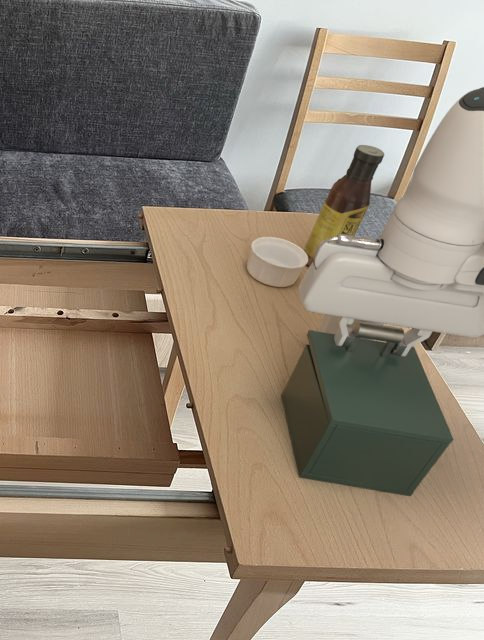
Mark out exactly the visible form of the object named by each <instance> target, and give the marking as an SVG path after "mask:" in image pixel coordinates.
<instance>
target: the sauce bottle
mask: <svg viewBox="0 0 484 640" xmlns="http://www.w3.org/2000/svg"><path fill="white" fill-rule="evenodd" d="M384 157H385V152H384V151H383V150H381V148H379V147H376V146H373V145H367V144H359V145H357V147H356V148H355V151H354V153H353V158H352V160H351V162H350V165H349V167H348V168H347V170H346V173H345V174H344V175H343V176H342V177H341V178H338V179H337V180H336V181H335V182H334V183H333V185H332V186H331V188H330V189H329V192H328V195H327V197H326V199H325V200H324V202H323V204H322V207H321V209H320V211H319V213H318V216H317V218H316V221H315V223H314V225H313V228H312V230H311V232H310V234H309V235H308V236H309V237H308V238H307V240H306V244H305V246H304V249H303V250H304V251H305V252H306V254H307V256H308V263H307V264H306V265H307V266H308V267H310V265H311V264H312V262H313V257H314V255H315V252H316V250H317V248H318V246H319V244H320V243H321V242H322V241H324V240H326V239H328V238H331V237H337V235H338V234H347V235H351V236H354V237H356V233H357V231H358V230H359V227H360V225H361V223H362V221H363V219H364V217H365V215H366V213H367V211H368V209H369V206H370V204H371V191H372V181H373V179H374V176H375V174H376V171H377V169H378V167H379V165H380V164H381V163H382V162H383V160H384ZM333 242H336V241H333Z"/></svg>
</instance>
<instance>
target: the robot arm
mask: <svg viewBox="0 0 484 640" xmlns="http://www.w3.org/2000/svg"><path fill="white" fill-rule="evenodd" d="M411 178H412V179H411V183H410V185H409V188H408V189H407V191H406V192H405V194H404V195H402V197H401V198H400V199H399V200H398V201H397V202H396V204H395V206H394V208H393V210H392V211H391V213H390V216H389V218H388V219H387V222H386V224H385V226H384V228H383V230H382V232H381V234H380V235H379V238H373V237H365V236H351V235H347V234H338V235H337V237H331V238H328V239H326V240H324V241H322V242H321V243H320V244H319V246H318V248H317V250H316V252H315V255H314V257H313V262H312V264H311V265H310V266H308V269H307V270H306V272H305V274H304V275H303V277H302V279H301V281H300V283H299V285H298V288H297V292H298V297H299V300H300V302H301V304H302V306H303V308H304V309H305V311H307V312H309V313H314V314H315V313H316V314H321V315H324V314H327V315H333V316H336V317H337V322H338V326H339V328H338V330H337V332H336V334H335V336H334V341H335V344H336V346H342V347H351V343H352V342H353V341H354V339H355V336H354V334H353V330H352V328H348V327H347V325H346V324H349V325H351V324H352V323H353V322H354V320H355V319H358V320H365V321H371V322H377V323H383V325H389V326H395V327H401V328H409V330H408V331H406V332H404V337H403V340H402V342H401V343H399V344H397V343H396V344H395V345H394V347H393V348H392V350H391V352H390V353H391V354H393V355H398V356H404V357H405V356H406V355H407V353H408V352H409V350H410V348H411V347H415V346H417V345H418V344H420V343H422V342H424V341H425V340H428V339H429V338H430V337H431V335H432V334H433V332H435V333H441V334H447V335H453V336H459V337H464V338H465V337H466V338H471V339H476V338H478V337H481V336H483V335H484V86H482V87H479V88H476V89H473V90H471V91H468V92H466V93H465V94H464V95H462V96H461V97H460V98H459V99H457V100H456V101H455V102H454V104H453V105H452V106H451V107H450V108H449V110H448V111H447V112H446V113H445V115H444V116H443V117H442V119H441V121H440V122H439V123H438V125H437V127H436V129H435V130H434V132H433V134H432V135H431V137H430V138H429V140H428V142H427V144H426V145H425V147H424V149H423V151H422V153H421V155H420V157H419V159H418V160H417V163H416V164H415V167H414V169H413V172H412V177H411ZM333 241H336V242H333Z"/></svg>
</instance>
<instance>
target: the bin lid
mask: <svg viewBox="0 0 484 640" xmlns="http://www.w3.org/2000/svg"><path fill="white" fill-rule="evenodd" d="M353 334H354V336H355V339H354V341H353V342H352V343H351V347H342V346H336V344H335V341H334V336H335V334H330V333H324V332H318V330H312V329H311V330H310V329H309V330H308V331H307V333H306V338H307V341H308V345H309V346H310V350H311V354H312V358H313V362H314V365H315V369H316V373H317V377H318V381H319V385H320V389H321V393H322V396H323V400H324V404H325V408H326V412H327V416H328V420H329V424H332V425H338V426H344V427H350V428H356V429H362V430H368V431H374V432H380V433H387V434H393V435H399V436H405V437H411V438H417V439H423V440H429V441H435V442H441V443H447V444H449V445H451V443H453V441H454V436H453V435H452V432H451V430H450V428H449V425H448V423H447V420H446V418H445V416H444V413H443V411H442V408H441V406H440V404H439V401H438V399H437V397H436V394H435V392H434V390H433V388H432V385H431V383H430V381H429V378H428V376H427V374H426V371H425V369H424V367H423V364H422V362H421V360H420V357H419V354H418V353H417V350H416V347H415V346H413V347H411V348H410V350H409V352H408V353H407V355H406V356H405V357H404V356H398V355H393V354H391V353H390V352H391V350H392V348H393V347H394V345H395V344H396V343H397V344H399V343H401V342H402V340H403V337H404V334H405V331H404V329H403V327H398V326H392V325H386V324H383V325H378V324H372V323H366V322H360V321H357V322H356V323H355V324H354V327H353ZM361 338H366V339H361ZM368 339H372V340H368Z"/></svg>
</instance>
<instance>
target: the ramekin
mask: <svg viewBox="0 0 484 640" xmlns="http://www.w3.org/2000/svg"><path fill="white" fill-rule="evenodd" d="M304 250H305V249H303V248H302V247H300V246H299V245H298V244H295V243H294V242H291V241H289V240H287V239H284V238H280V237H277V236H275V237H274V236H262V237H261V236H260V237H258V238H257V237H256V238H255V239H254V240H253V241H252V242H251V244H250V252H249V255H248V259H247V263H246V269H247V272H248V274H249V275H250V276H251V277H252V278H253V279H255V280H256V281H258V282H259V283H261V284H263V285H266V286H269V287H274V288H285V287H290V286H292V285H294V284H295V283H296V281H297V280H298V278H299V276H300V274H301V273H302V271H303V269H304V268H305V267H306V265H307V263H308V256H307V254H306V252H305V251H304Z"/></svg>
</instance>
